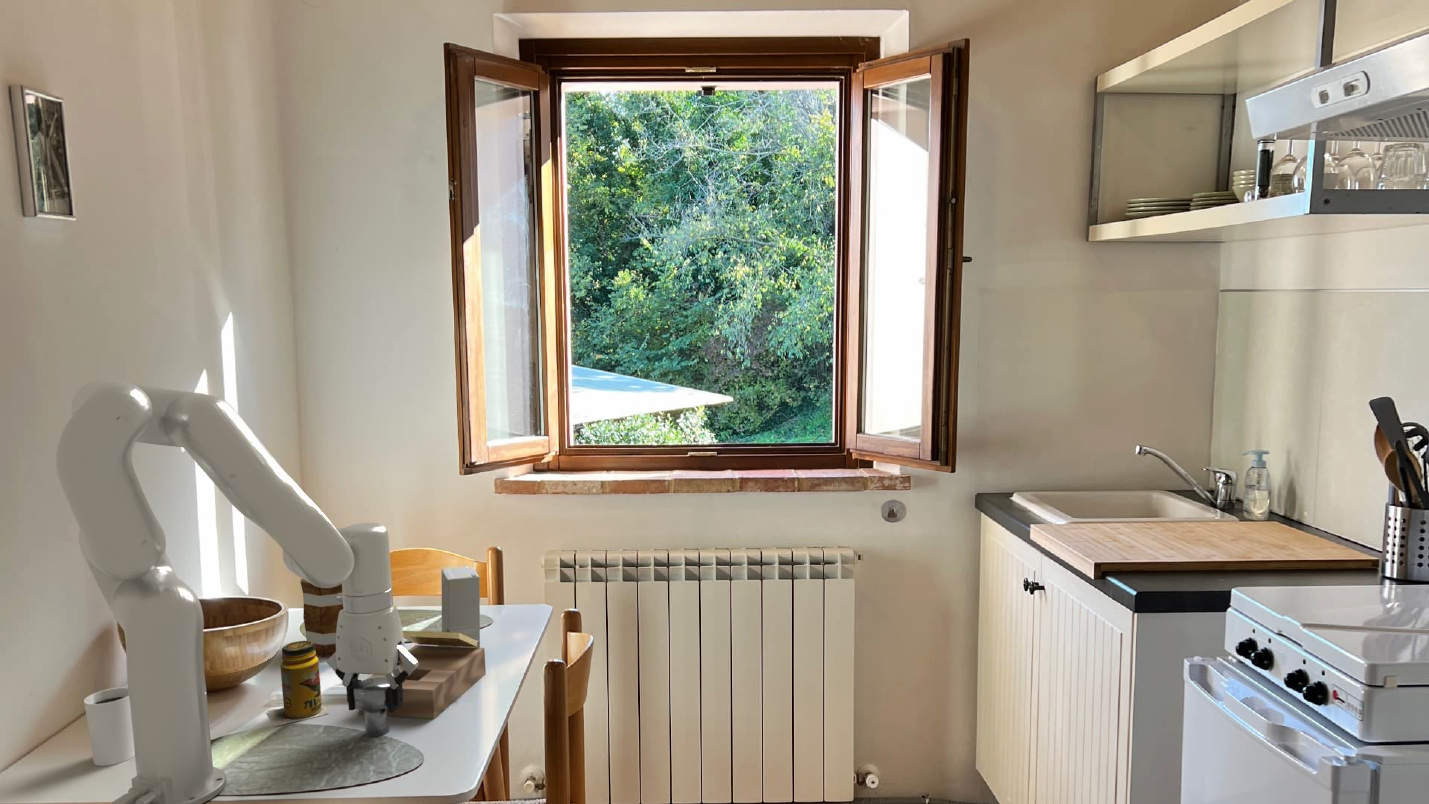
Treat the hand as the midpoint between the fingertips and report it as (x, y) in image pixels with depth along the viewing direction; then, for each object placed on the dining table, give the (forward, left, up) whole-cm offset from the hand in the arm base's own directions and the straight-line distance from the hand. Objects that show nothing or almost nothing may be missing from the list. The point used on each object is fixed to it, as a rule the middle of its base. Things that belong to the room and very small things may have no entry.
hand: (375, 707), depth 159 cm
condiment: (+5, +18, -4) cm, 19 cm away
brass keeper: (+22, 0, +3) cm, 22 cm away
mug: (+35, +28, -4) cm, 45 cm away
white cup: (-14, +37, -4) cm, 40 cm away
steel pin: (0, 0, -4) cm, 4 cm away
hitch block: (+16, 0, -4) cm, 17 cm away
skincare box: (+39, +4, -4) cm, 39 cm away
